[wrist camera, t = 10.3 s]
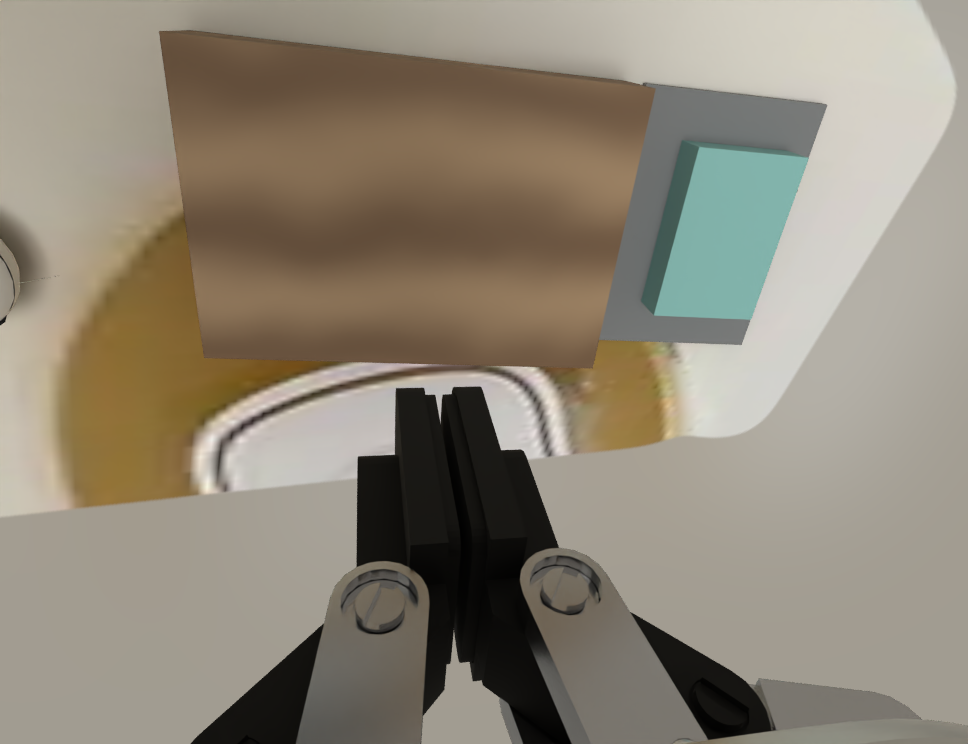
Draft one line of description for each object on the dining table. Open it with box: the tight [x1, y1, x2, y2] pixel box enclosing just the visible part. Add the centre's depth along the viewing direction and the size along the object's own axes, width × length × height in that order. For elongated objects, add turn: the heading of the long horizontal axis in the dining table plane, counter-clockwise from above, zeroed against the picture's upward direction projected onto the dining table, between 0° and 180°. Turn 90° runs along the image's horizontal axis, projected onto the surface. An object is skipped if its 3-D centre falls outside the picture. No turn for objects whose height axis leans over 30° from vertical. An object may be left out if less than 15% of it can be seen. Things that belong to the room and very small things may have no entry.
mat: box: [599, 83, 827, 345], centre depth 34 cm, size 14×10×1 cm
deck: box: [159, 30, 656, 368], centre depth 29 cm, size 14×20×4 cm
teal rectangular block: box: [641, 140, 809, 320], centre depth 33 cm, size 9×6×2 cm, turn 174°
